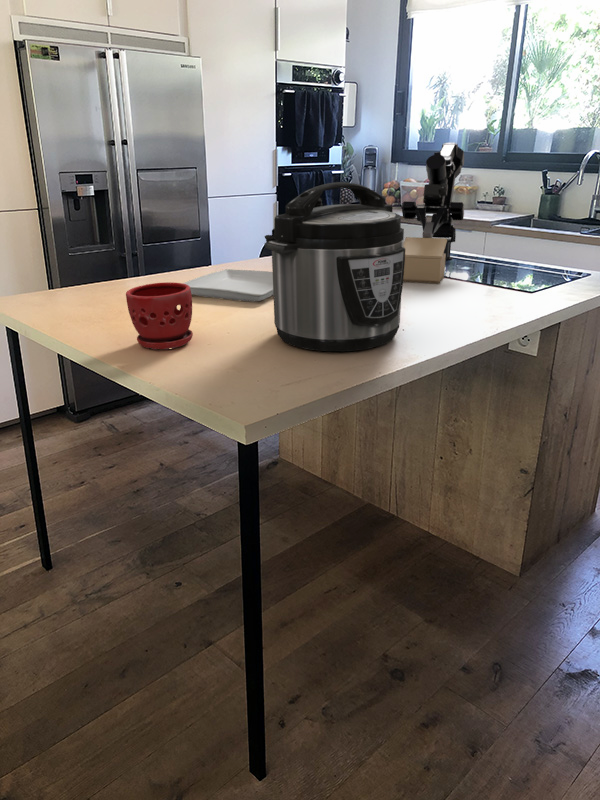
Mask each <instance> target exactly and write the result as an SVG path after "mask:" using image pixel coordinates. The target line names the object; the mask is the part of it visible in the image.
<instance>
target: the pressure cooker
mask: <svg viewBox="0 0 600 800" xmlns="http://www.w3.org/2000/svg"><path fill="white" fill-rule="evenodd" d="M340 188H341V189H349V190H350V191H351V193H352V194H353V195H354V196H355V198H356V199H357V200H358V202H359V203H358V204H357V203H356V204H350V203H349V204H348V203H345V204H344V203H343V204H327V205H323V204H324V203H322V201H323V200H324V199H323V198H322V197H321V196H322V194H323V192H325V191H330V190H337V189H340ZM401 219H402V218H401V215H400V214H398V213H396V212H393V206H392V205H391V204H386V198H385V197H383V196H382V195H381V194H379V193H378V192H377V191H375V190H373V189H371V188H369V187H367V186H365V185H362V184H358V183H354V182H349V181H348V182H347V181H346V182H345V181H342V182H341V181H336V182H328V183H324V184H321V185H318V186H314V187H312V188H309V189H307V190H305V191H304V192H302V193H300V194H299V195H298V196H296V197H294V198H293V199H292V200H291V201H289V202H288V203H287V204H286V205H285V213H283V214H277V215H275V217H274V219H273V221H274V222H273V223H274V226H273V229H271V234H266V235H264V239H265V241H266V242H265V241H264V248H265V249H267V250H269V251H270V250H271V267H272V271H271V272H273V295H272V296H273V315H274V319H273V321H274V326H275V329H276V332H277V335H278V336H279V338H280V339H281V340H282V341H283V342H285V343H286V344H288V345H290V346H292V347H296V348H301V349H307V350H311V351H322V352H323V351H324V352H353V351H362V350H367V349H372V348H375V347H376V348H377V347H380V346H383V345H385V344H387V343H389V342H390V341H392V340H393V339H394V338H395V336H396V335H397V333H398V332H399V331H398V330H399V328H400V324H401V312H402V311H401V308H402V293H403V286H404V285H403V284H404V282H403V277H404V266H405V248H403V246H404V241H405V237H404V236H405V235H404V233H405V232H404V231H405V230H404V228H402V227H401V222H402V221H401Z"/></svg>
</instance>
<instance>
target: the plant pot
mask: <svg viewBox="0 0 600 800" xmlns="http://www.w3.org/2000/svg"><path fill="white" fill-rule="evenodd" d="M183 283H184V282H174V281H173V282H171V281H170V282H156V283H155V282H154V283H149V284H148V283H147V284H142V285H138V286H135V287H132V288H130V289H128V290H127V291H126V293H125V299H126V305H127V310H128V313H129V316H130V320H131V323H132V325H133V327H134V329H135V331H136V332H137V334H138V335H137V336H136V341H137V343H138V344H139V345H140V346H142V347H143V348H145V347H146V349H149V348H152V349H151V350H157V349H162V350H169V348H172V349H176V348H180V347H182V346H184V345H186V344H188V343H189V342H190V341H191V340H192V339H193V336H194V332H193V331H192V330H191V329H190V325H191V324H192V317H193V297H192V294H191V289H190V286H189V285H187V284H183ZM178 306H180V307H179V309H178Z"/></svg>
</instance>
